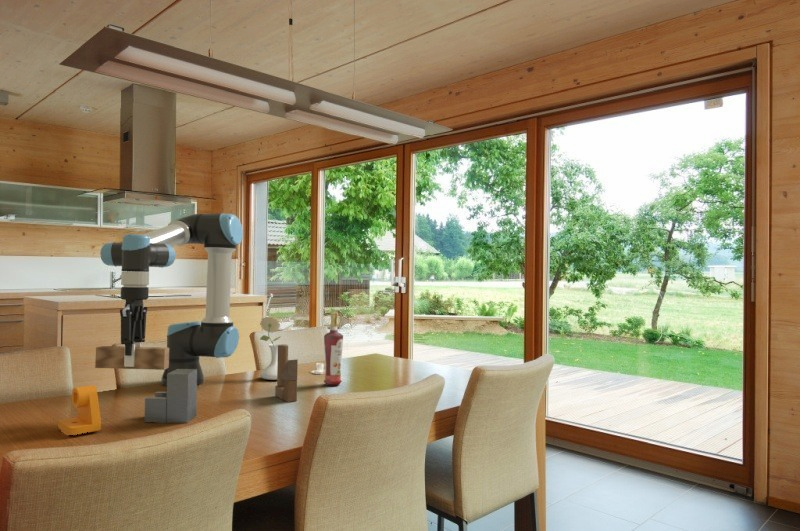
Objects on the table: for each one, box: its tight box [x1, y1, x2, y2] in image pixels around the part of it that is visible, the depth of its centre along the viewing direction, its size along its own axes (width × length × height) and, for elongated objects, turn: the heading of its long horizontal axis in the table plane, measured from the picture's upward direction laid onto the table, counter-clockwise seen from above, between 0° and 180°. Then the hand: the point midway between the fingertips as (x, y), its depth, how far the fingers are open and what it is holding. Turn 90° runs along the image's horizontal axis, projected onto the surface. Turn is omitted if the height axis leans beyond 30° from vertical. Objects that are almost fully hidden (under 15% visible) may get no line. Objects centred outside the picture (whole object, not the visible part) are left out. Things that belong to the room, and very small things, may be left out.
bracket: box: [57, 384, 102, 436], centre depth 155 cm, size 11×7×12 cm, turn 49°
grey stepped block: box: [144, 369, 198, 424], centre depth 168 cm, size 9×12×14 cm
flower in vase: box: [259, 315, 282, 381], centre depth 229 cm, size 13×11×25 cm
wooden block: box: [274, 343, 299, 403], centre depth 196 cm, size 4×11×18 cm, turn 34°
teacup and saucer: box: [310, 362, 325, 375], centre depth 244 cm, size 9×8×4 cm
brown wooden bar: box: [94, 345, 169, 371], centre depth 169 cm, size 20×4×6 cm, turn 91°
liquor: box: [323, 311, 344, 387], centre depth 219 cm, size 7×7×28 cm
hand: (132, 365), depth 169 cm, fingers closed on brown wooden bar, 3 cm apart
